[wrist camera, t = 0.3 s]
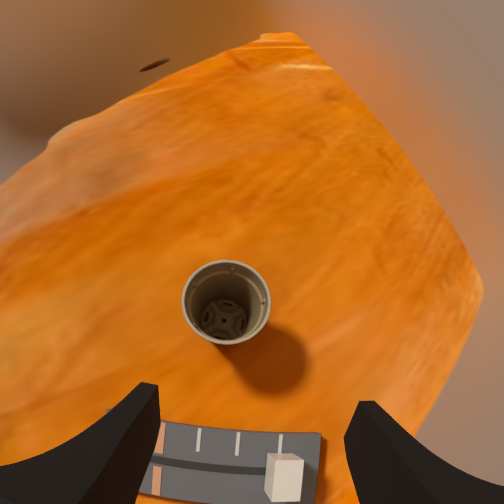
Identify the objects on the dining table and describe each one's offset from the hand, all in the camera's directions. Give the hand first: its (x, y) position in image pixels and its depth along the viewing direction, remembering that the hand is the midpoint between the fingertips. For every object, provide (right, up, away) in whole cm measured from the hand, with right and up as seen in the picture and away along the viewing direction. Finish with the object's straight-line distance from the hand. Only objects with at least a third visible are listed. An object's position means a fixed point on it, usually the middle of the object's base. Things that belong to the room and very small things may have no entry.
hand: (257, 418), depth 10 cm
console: (-5, -20, +21) cm, 30 cm away
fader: (+3, -20, +20) cm, 28 cm away
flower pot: (-4, -3, +31) cm, 31 cm away
